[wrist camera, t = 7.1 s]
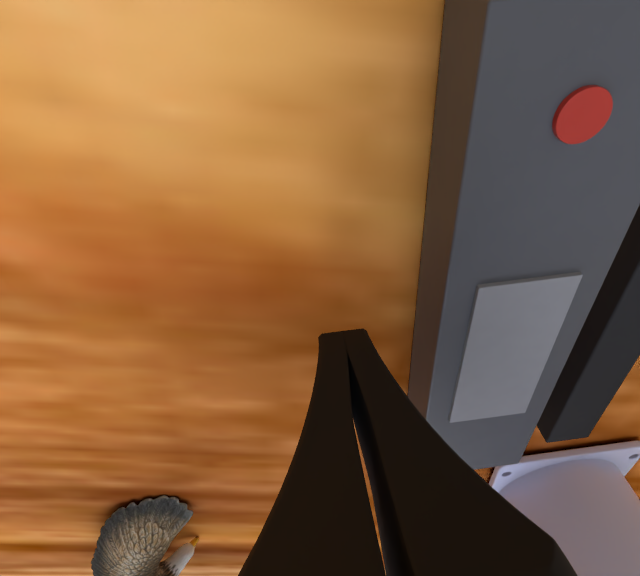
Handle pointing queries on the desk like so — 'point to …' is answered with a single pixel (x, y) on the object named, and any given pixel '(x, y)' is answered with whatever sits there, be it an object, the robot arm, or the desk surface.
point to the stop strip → (599, 349)
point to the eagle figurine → (143, 540)
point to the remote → (520, 208)
